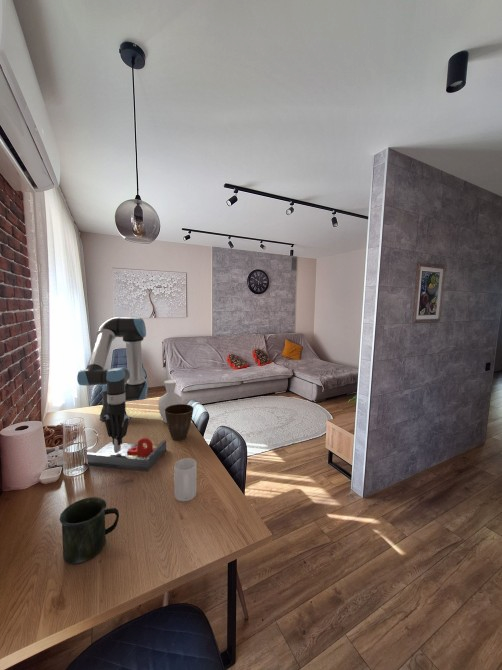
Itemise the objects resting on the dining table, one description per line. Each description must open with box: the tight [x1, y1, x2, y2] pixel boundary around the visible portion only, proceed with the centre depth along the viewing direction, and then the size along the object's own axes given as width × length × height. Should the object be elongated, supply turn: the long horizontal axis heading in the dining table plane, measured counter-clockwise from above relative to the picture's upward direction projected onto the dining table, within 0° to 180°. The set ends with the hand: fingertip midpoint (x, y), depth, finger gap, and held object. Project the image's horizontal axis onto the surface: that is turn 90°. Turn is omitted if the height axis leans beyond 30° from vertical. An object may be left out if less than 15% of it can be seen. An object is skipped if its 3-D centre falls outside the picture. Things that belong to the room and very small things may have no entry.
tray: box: [86, 439, 167, 472], centre depth 126 cm, size 18×30×5 cm, turn 82°
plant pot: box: [165, 403, 194, 441], centre depth 146 cm, size 15×15×16 cm
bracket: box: [127, 437, 154, 456], centre depth 127 cm, size 12×4×8 cm, turn 82°
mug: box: [59, 496, 120, 565], centre depth 78 cm, size 11×15×12 cm
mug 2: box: [173, 457, 198, 502], centre depth 99 cm, size 8×12×12 cm
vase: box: [158, 379, 183, 424], centre depth 167 cm, size 14×14×25 cm
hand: (117, 451), depth 126 cm, fingers closed
